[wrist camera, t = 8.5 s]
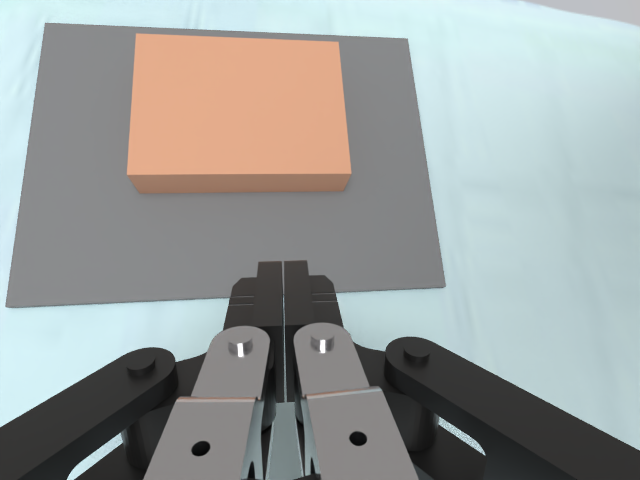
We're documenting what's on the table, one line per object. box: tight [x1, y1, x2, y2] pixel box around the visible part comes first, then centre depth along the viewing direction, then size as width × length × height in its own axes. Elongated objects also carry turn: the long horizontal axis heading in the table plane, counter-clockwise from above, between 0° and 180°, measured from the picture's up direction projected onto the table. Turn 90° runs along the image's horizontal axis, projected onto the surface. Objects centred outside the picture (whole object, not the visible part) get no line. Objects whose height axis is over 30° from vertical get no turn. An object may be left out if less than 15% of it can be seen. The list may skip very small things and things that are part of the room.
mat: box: [5, 23, 446, 308], centre depth 26 cm, size 24×18×1 cm
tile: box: [127, 33, 352, 194], centre depth 25 cm, size 12×2×9 cm
